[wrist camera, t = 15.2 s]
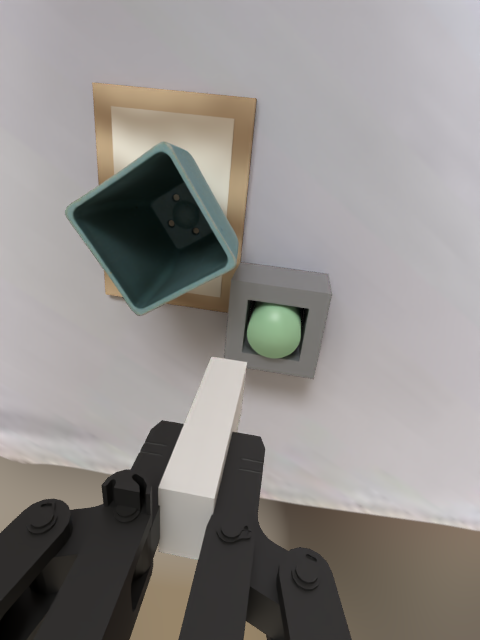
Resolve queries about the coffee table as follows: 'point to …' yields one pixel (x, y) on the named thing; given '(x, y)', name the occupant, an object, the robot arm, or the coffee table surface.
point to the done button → (274, 329)
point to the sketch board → (191, 135)
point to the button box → (283, 290)
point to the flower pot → (156, 228)
